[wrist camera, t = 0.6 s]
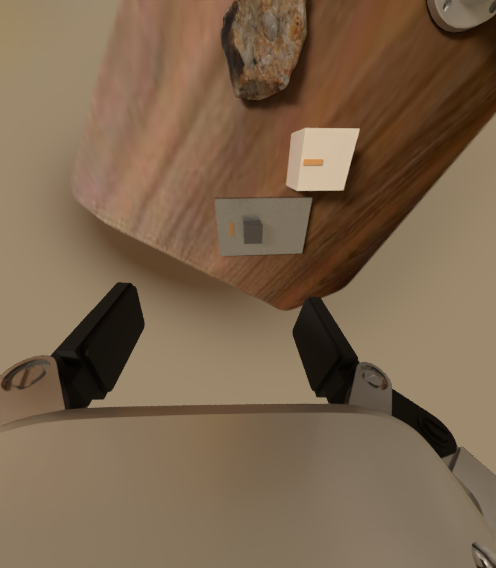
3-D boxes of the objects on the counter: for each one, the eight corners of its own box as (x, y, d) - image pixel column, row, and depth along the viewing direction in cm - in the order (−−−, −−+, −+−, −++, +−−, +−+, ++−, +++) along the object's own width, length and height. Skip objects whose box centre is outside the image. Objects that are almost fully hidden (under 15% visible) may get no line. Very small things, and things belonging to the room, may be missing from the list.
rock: (242, 117, 25) (318, 78, 22) (230, 95, 20) (328, 40, 17) (219, 31, 22) (303, -27, 19) (198, -21, 17) (310, -112, 14)
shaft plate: (309, 196, 31) (319, 201, 28) (300, 250, 37) (307, 260, 34) (215, 197, 30) (213, 203, 27) (220, 253, 36) (219, 263, 33)
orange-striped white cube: (336, 133, 27) (361, 128, 22) (325, 184, 30) (344, 190, 25) (291, 133, 26) (306, 127, 21) (286, 185, 30) (297, 191, 25)
